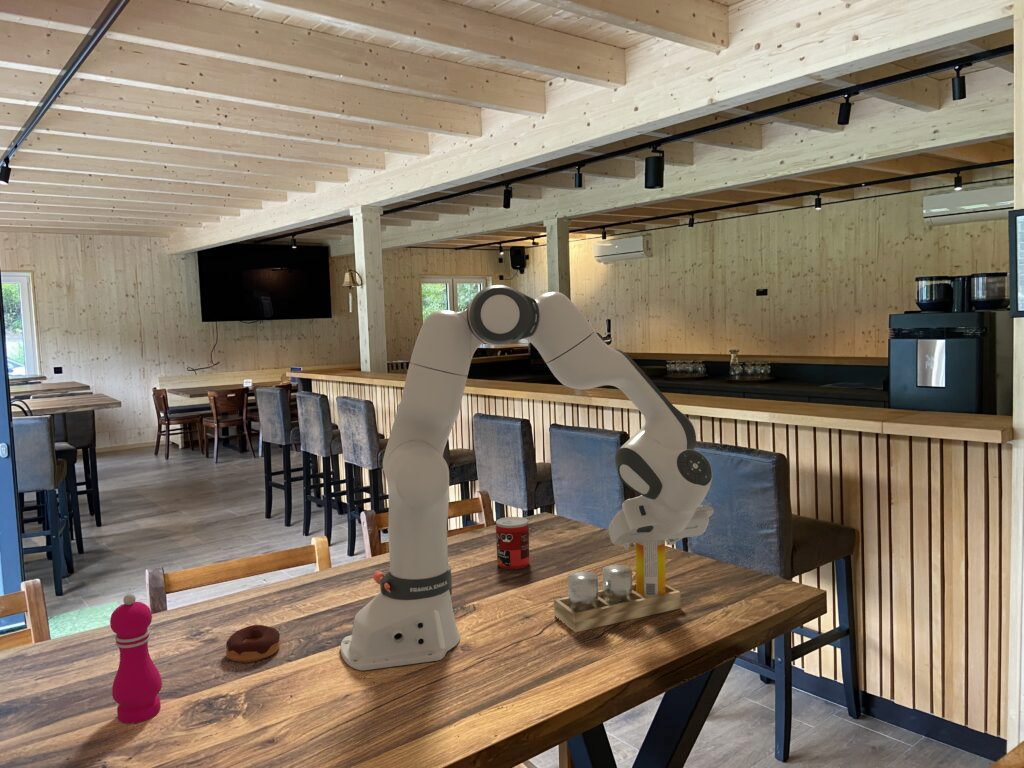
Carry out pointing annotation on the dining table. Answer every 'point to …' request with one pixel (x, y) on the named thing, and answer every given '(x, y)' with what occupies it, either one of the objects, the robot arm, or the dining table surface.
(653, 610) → the compartment tray
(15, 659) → the dining table surface
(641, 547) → the beer can
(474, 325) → the robot arm
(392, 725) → the dining table surface
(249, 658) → the donut
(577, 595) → the seated canisters
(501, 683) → the dining table surface
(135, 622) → the pepper mill
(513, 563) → the canned food
